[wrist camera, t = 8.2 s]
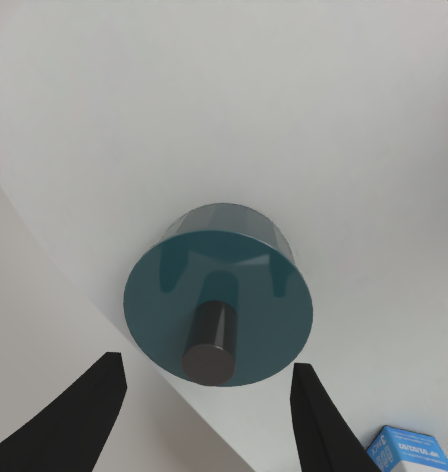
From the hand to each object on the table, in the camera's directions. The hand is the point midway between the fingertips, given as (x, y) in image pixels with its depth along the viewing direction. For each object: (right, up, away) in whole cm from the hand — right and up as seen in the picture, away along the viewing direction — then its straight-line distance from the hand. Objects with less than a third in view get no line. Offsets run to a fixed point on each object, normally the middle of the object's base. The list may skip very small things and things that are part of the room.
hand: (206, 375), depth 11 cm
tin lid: (0, +2, +4) cm, 4 cm away
